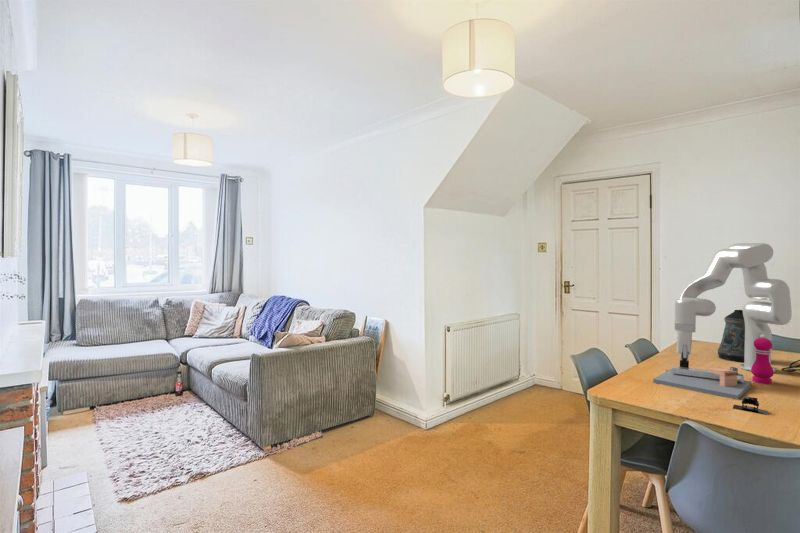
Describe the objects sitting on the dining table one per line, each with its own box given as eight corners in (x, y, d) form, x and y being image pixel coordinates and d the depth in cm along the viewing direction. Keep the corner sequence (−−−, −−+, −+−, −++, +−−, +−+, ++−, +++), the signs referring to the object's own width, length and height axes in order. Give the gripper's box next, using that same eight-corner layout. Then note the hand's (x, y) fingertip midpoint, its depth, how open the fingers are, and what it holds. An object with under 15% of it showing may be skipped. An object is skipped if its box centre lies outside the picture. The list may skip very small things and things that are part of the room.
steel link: (742, 379, 175) (742, 367, 175) (744, 383, 170) (744, 370, 170) (672, 370, 189) (672, 359, 188) (672, 373, 183) (672, 362, 183)
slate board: (672, 371, 195) (673, 368, 195) (751, 385, 174) (751, 381, 174) (653, 382, 178) (653, 378, 178) (737, 399, 157) (737, 395, 157)
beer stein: (710, 357, 223) (711, 309, 222) (732, 353, 231) (734, 307, 230) (746, 364, 208) (747, 313, 207) (769, 360, 216) (770, 311, 215)
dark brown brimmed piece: (726, 409, 148) (726, 396, 148) (728, 404, 154) (728, 391, 154) (773, 418, 140) (774, 405, 140) (774, 412, 145) (774, 399, 145)
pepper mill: (777, 385, 175) (778, 336, 174) (757, 384, 176) (758, 335, 175) (766, 380, 182) (767, 333, 181) (746, 379, 183) (748, 332, 183)
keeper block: (719, 383, 176) (719, 367, 176) (736, 389, 169) (737, 371, 169) (707, 384, 175) (707, 367, 175) (724, 390, 168) (724, 372, 168)
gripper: (674, 324, 195) (673, 364, 195) (674, 329, 182) (674, 372, 182) (694, 326, 191) (693, 367, 191) (696, 331, 178) (695, 375, 178)
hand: (684, 369), depth 187 cm, fingers closed
